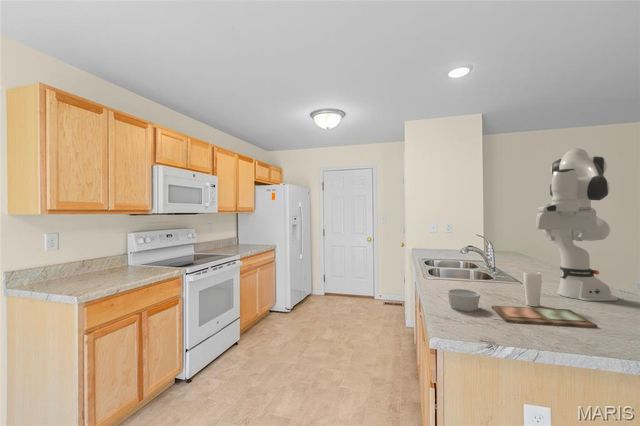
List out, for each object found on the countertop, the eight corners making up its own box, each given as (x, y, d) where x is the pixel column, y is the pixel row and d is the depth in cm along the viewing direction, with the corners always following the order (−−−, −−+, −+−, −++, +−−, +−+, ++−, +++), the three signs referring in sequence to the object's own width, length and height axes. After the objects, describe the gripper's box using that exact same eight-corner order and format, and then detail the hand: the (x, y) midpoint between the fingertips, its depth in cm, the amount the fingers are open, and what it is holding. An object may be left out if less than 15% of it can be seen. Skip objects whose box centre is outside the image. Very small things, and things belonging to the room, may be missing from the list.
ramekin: (483, 307, 136) (483, 291, 136) (475, 314, 126) (474, 298, 126) (453, 301, 145) (453, 287, 145) (443, 308, 135) (443, 293, 135)
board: (569, 311, 127) (569, 308, 127) (597, 327, 110) (597, 324, 110) (491, 307, 135) (491, 304, 135) (505, 322, 117) (505, 318, 117)
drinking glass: (545, 308, 133) (544, 274, 133) (528, 307, 134) (527, 274, 134) (537, 303, 139) (536, 271, 139) (521, 302, 141) (520, 271, 141)
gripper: (591, 207, 124) (591, 240, 123) (533, 207, 130) (534, 239, 129) (600, 207, 117) (601, 242, 117) (539, 207, 124) (539, 240, 123)
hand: (565, 240), depth 123 cm, fingers open, 8 cm apart
